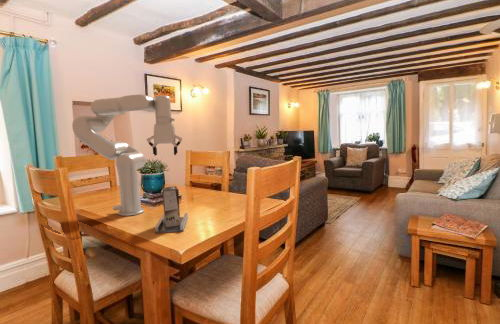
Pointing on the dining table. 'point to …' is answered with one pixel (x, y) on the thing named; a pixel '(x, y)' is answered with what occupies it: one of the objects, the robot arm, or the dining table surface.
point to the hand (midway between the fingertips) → (165, 155)
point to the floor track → (163, 229)
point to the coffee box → (171, 206)
